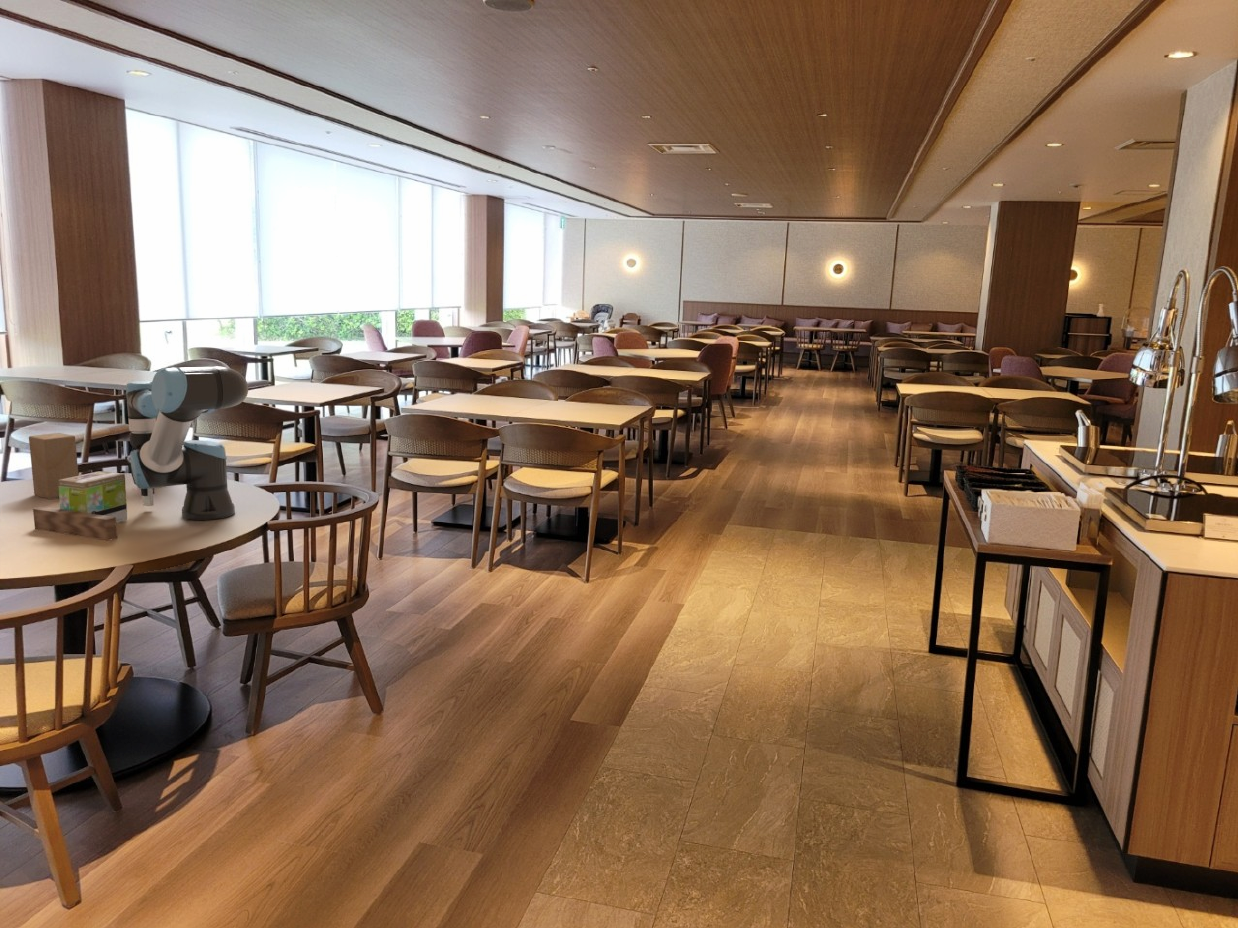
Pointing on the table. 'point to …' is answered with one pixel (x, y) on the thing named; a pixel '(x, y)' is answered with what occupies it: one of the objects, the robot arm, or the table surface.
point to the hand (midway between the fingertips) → (148, 505)
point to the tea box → (95, 494)
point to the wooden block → (52, 462)
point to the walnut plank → (75, 523)
